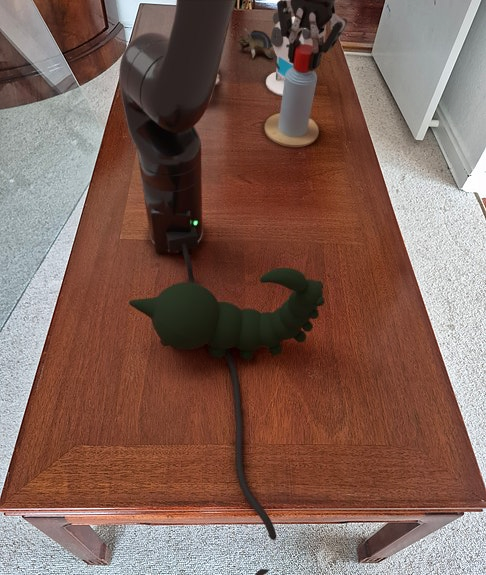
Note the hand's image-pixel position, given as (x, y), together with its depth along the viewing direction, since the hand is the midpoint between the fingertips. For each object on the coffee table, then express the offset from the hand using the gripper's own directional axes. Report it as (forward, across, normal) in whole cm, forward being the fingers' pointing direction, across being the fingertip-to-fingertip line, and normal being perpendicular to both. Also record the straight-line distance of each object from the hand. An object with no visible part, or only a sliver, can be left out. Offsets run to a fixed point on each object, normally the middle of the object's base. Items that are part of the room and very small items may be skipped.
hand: (302, 64), depth 90 cm
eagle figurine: (+15, +25, -22) cm, 36 cm away
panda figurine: (+15, +11, -16) cm, 24 cm away
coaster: (+15, 0, 0) cm, 15 cm away
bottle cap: (+1, 0, 0) cm, 1 cm away
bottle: (+14, 0, 0) cm, 14 cm away
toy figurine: (+15, -20, +52) cm, 57 cm away
